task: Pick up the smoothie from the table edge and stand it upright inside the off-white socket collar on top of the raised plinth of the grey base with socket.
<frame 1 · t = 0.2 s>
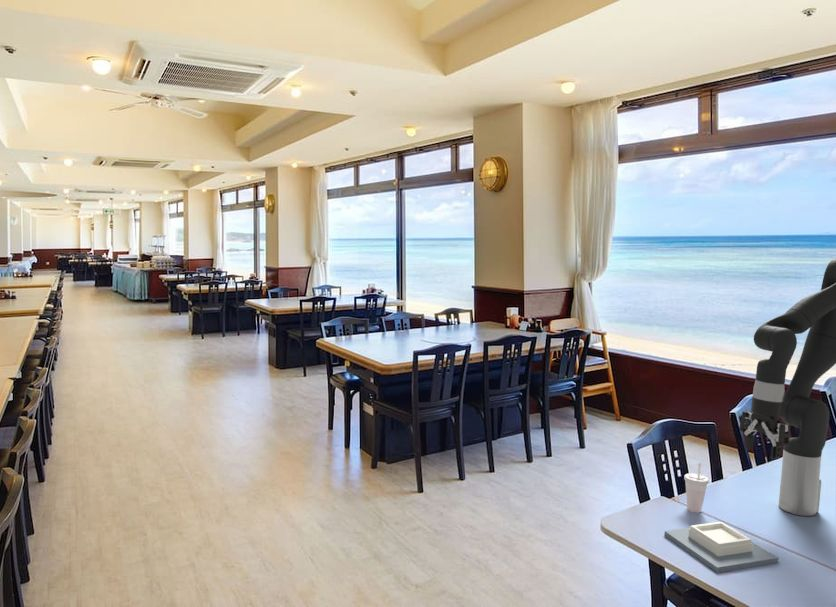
hand: (761, 453, 166), 18 cm above the table, tool pointing down, fingers open, 8 cm apart
smoothie: (694, 510, 170), on the table
grey base with socket: (718, 548, 148), on the table
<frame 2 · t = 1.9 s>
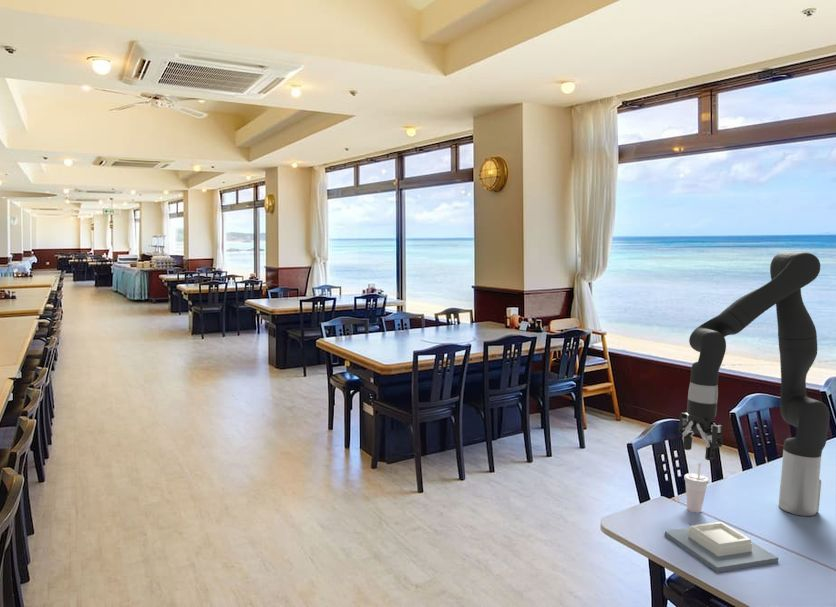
hand: (697, 454, 168), 16 cm above the table, tool pointing down, fingers open, 8 cm apart
nothing on the table moved.
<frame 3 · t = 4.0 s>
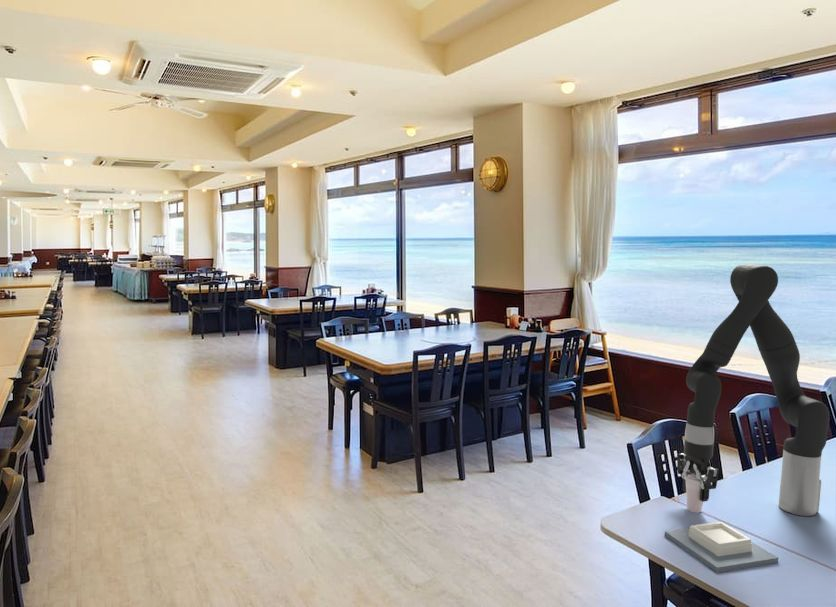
hand: (694, 495, 169), 4 cm above the table, tool pointing down, fingers closed on smoothie, 6 cm apart
smoothie: (694, 510, 170), on the table, touching gripper
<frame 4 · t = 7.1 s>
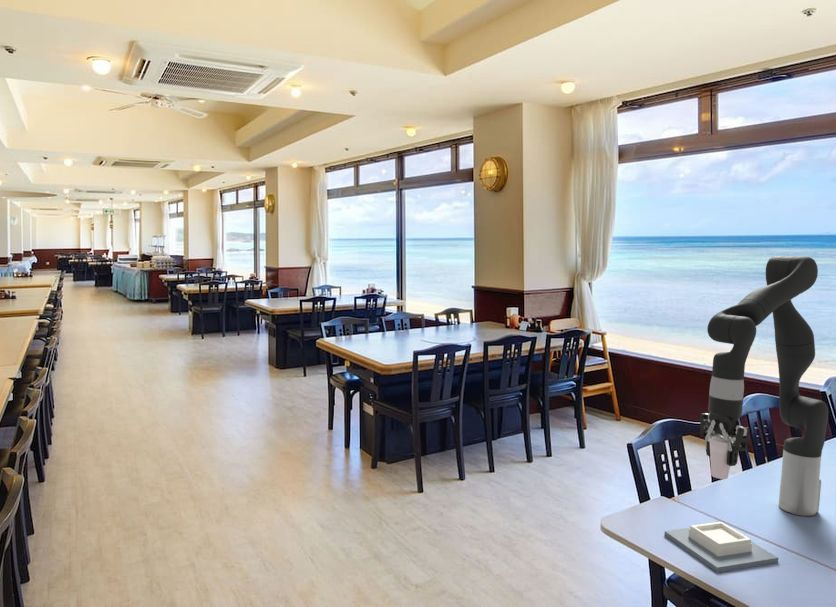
hand: (720, 460, 148), 22 cm above the table, tool pointing down, fingers closed on smoothie, 6 cm apart
smoothie: (719, 476, 148), point 18 cm above the table, touching gripper
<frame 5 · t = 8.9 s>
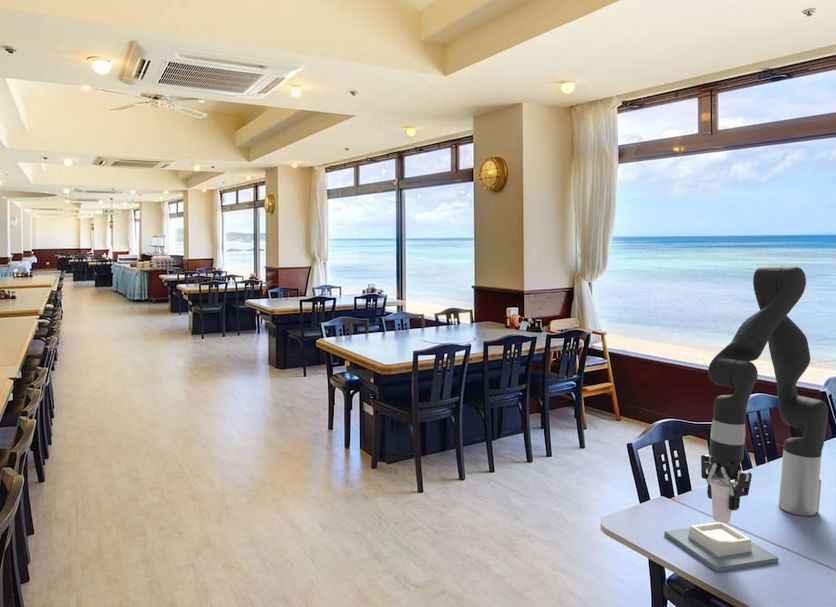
hand: (722, 503, 147), 12 cm above the table, tool pointing down, fingers closed on smoothie, 6 cm apart
smoothie: (721, 520, 147), point 7 cm above the table, touching gripper
when the fingers open (8 cm above the table, at t = 10.5 s): smoothie stays where it is, resting on grey base with socket.
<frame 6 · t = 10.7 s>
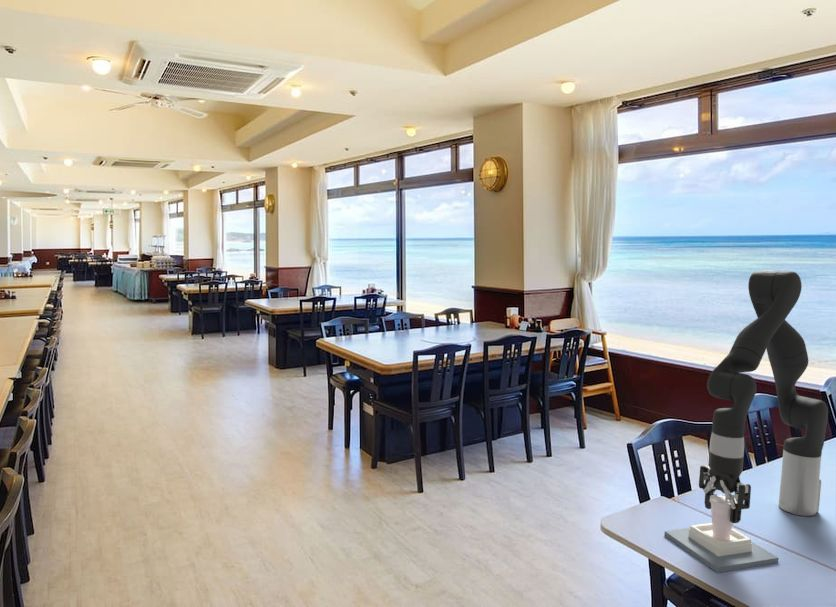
hand: (721, 515, 147), 9 cm above the table, tool pointing down, fingers open, 7 cm apart
smoothie: (721, 537, 147), point 3 cm above the table, touching grey base with socket
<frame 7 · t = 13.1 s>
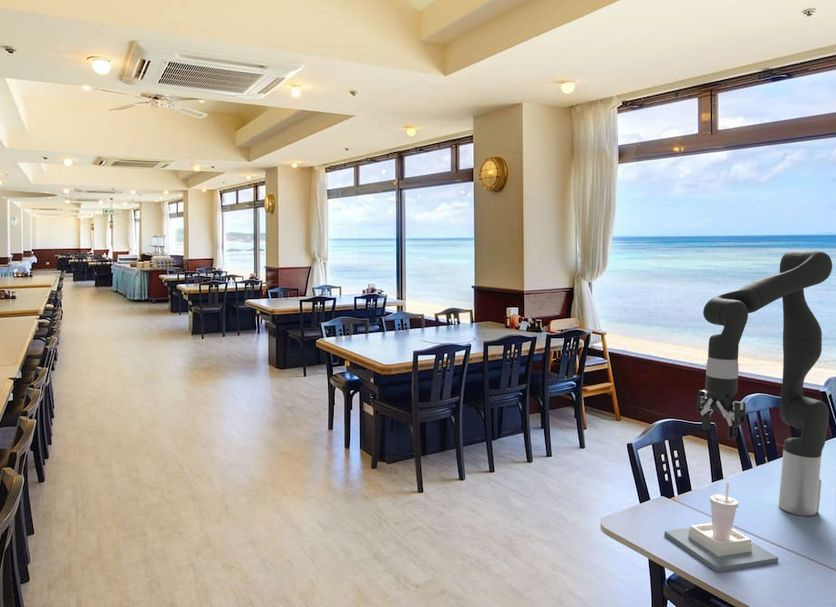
hand: (718, 433, 157), 26 cm above the table, tool pointing down, fingers open, 8 cm apart
nothing on the table moved.
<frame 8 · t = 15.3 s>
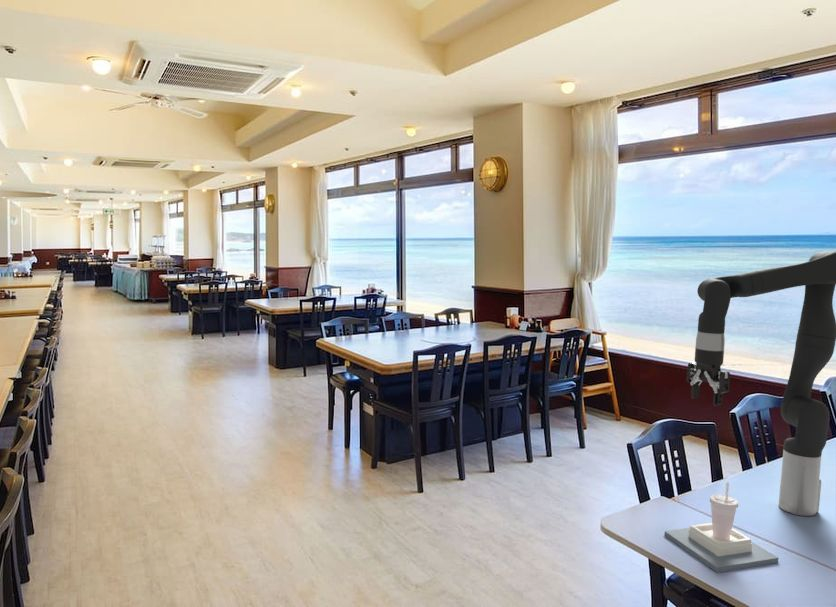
hand: (705, 401, 173), 30 cm above the table, tool pointing down, fingers open, 8 cm apart
nothing on the table moved.
at the end: smoothie 0.3 cm off-centre on the grey base with socket, point 3.0 cm above the grey base with socket's base; smoothie tilted 0°; the gripper is holding nothing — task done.
